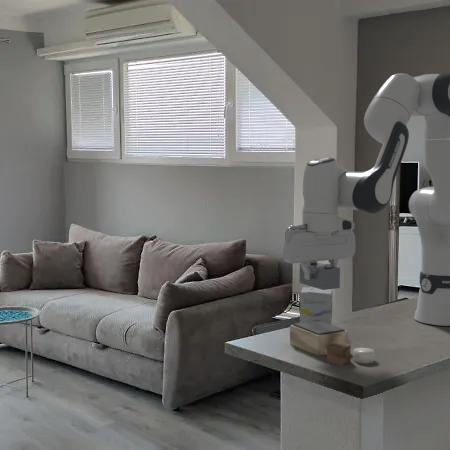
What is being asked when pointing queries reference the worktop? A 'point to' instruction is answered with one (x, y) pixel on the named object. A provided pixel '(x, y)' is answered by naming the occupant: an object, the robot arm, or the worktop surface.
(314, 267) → the block
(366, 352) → the white egg shape
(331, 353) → the walnut block
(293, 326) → the stand
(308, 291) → the ink box
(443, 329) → the worktop surface
